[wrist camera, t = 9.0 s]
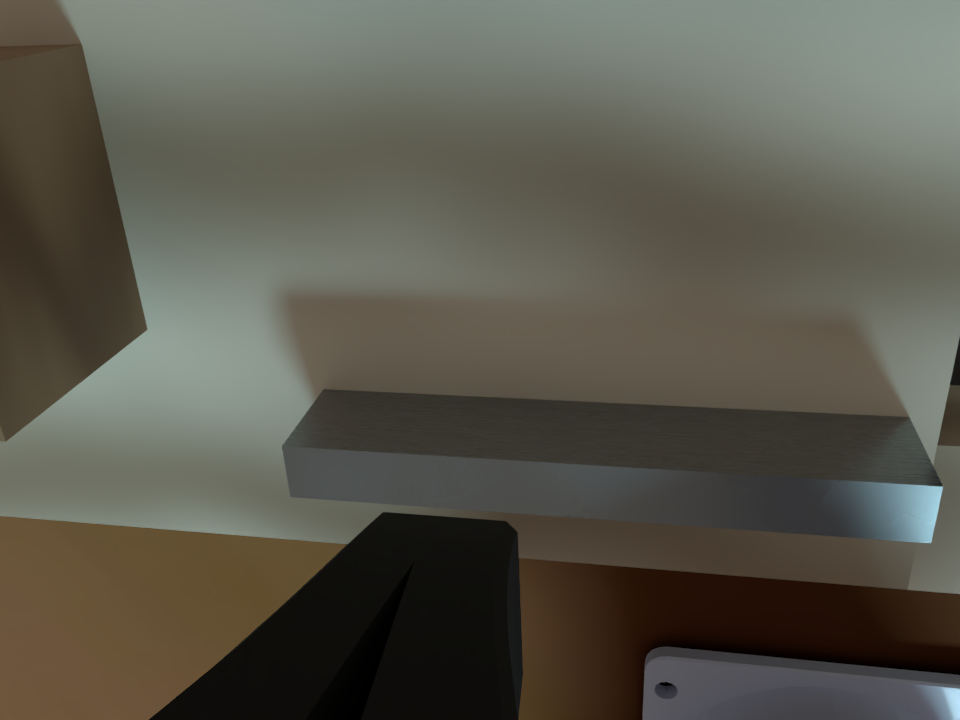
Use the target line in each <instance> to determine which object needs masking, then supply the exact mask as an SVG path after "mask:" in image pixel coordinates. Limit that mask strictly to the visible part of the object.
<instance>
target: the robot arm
mask: <svg viewBox="0 0 960 720" xmlns="http://www.w3.org/2000/svg"><path fill="white" fill-rule="evenodd" d="M522 677H523V665H522V637H521V609H520V581H519V552H518V532H517V531H516V530H515V529H514V528H513V527H512V526H511V525H510V524H509V523H508V522H507V521H500V520H486V519H472V518H459V517H445V516H432V515H418V514H405V513H391V512H383V513H381V514H380V515H379V516H378V517H377V518H376V519H375V520H374V521H372V522H371V523H370V524H369V525H368V526H367V527H366V528H365V529H364V530H362V531H361V532H360V533H359V534H358V535H357V536H356V537H355V538H354V539H353V540H352V541H351V542H349V543H348V544H347V545H346V546H345V547H344V548H343V549H342V550H341V551H340V552H339V553H338V554H337V555H336V556H335V557H334V558H333V559H331V560H330V561H329V562H328V563H327V564H326V565H325V566H324V567H323V568H322V569H321V570H320V571H319V572H318V573H317V574H316V575H315V576H313V577H312V578H311V579H310V580H309V581H308V582H307V583H306V584H305V585H304V586H303V587H302V588H301V589H300V590H298V591H297V592H296V593H295V594H294V595H293V596H292V597H291V598H290V599H289V600H288V601H287V602H286V603H285V604H283V605H282V606H281V607H280V608H279V609H278V610H277V611H276V612H274V613H273V614H272V615H271V616H270V617H269V618H268V619H267V620H266V621H264V622H263V623H262V624H261V625H260V626H259V627H258V628H257V629H255V630H254V631H253V632H252V633H251V634H250V635H249V636H248V637H247V638H245V639H244V640H243V641H242V642H241V643H240V644H239V645H238V646H237V647H235V648H234V649H233V650H232V651H231V652H230V653H229V654H228V655H226V656H225V657H224V658H223V659H222V660H221V661H219V662H218V663H217V664H216V665H215V666H214V667H212V668H211V669H210V670H209V671H208V672H206V673H205V674H204V675H203V676H202V677H200V678H199V679H198V680H197V681H196V682H194V683H193V684H192V685H191V686H189V687H188V688H187V689H186V690H185V691H183V692H182V693H181V694H180V695H178V696H177V697H176V698H175V699H174V700H172V701H171V702H170V703H169V704H167V705H166V706H165V707H164V708H163V709H161V710H160V711H159V712H158V713H156V714H155V715H154V716H153V717H152V718H150V719H149V720H518V717H519V706H520V696H521V687H522ZM661 682H668V683H672V684H673V685H672V686H663V685H660V684H659V683H661ZM642 720H960V675H954V674H943V673H933V672H923V671H913V670H902V669H892V668H882V667H871V666H861V665H851V664H841V663H830V662H820V661H810V660H800V659H789V658H779V657H769V656H758V655H748V654H738V653H728V652H717V651H707V650H697V649H686V648H676V647H658V648H656V649H653V650H651V651H650V652H649V653H648V654H647V656H646V659H645V670H644V693H643V715H642Z"/></svg>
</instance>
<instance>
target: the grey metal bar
mask: <svg viewBox="0 0 960 720" xmlns="http://www.w3.org/2000/svg"><path fill="white" fill-rule="evenodd" d="M282 451H283V456H284V462H285V468H286V474H287V480H288V486H289V492H290V497H294V498H308V499H322V500H335V501H349V502H363V503H377V504H391V505H405V506H419V507H433V508H446V509H460V510H474V511H488V512H502V513H516V514H530V515H543V516H557V517H571V518H585V519H599V520H613V521H627V522H641V523H654V524H668V525H682V526H696V527H710V528H724V529H738V530H751V531H765V532H779V533H793V534H807V535H821V536H835V537H849V538H862V539H876V540H890V541H904V542H918V543H931V541H932V537H933V532H934V527H935V523H936V518H937V513H938V509H939V504H940V499H941V495H942V490H943V485H942V483H941V481H940V479H939V477H938V475H937V473H936V471H935V469H934V466H933V464H932V462H931V460H930V458H929V456H928V454H927V452H926V450H925V448H924V446H923V444H922V442H921V440H920V438H919V436H918V434H917V432H916V429H915V427H914V425H913V423H912V421H911V419H910V417H897V416H876V415H855V414H834V413H813V412H792V411H771V410H750V409H729V408H708V407H687V406H666V405H645V404H624V403H603V402H582V401H561V400H540V399H519V398H498V397H477V396H456V395H435V394H414V393H393V392H372V391H351V390H330V389H323V391H322V392H321V393H320V395H319V396H318V397H317V399H316V400H315V401H314V403H313V404H312V406H311V407H310V408H309V410H308V411H307V412H306V414H305V415H304V417H303V418H302V419H301V421H300V422H299V423H298V425H297V426H296V427H295V429H294V430H293V432H292V433H291V434H290V436H289V437H288V438H287V440H286V441H285V443H284V444H283V445H282Z"/></svg>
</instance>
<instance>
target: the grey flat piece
mask: <svg viewBox="0 0 960 720" xmlns="http://www.w3.org/2000/svg"><path fill="white" fill-rule="evenodd" d="M70 44H82V47H83V51H84V55H85V60H86V64H87V69H88V73H89V77H90V82H91V86H92V90H93V95H94V99H95V103H96V108H97V112H98V116H99V121H100V125H101V129H102V134H103V138H104V142H105V147H106V151H107V155H108V160H109V164H110V168H111V173H112V177H113V181H114V186H115V190H116V195H117V199H118V203H119V208H120V212H121V216H122V221H123V225H124V229H125V234H126V238H127V242H128V247H129V251H130V255H131V260H132V264H133V268H134V273H135V277H136V281H137V286H138V290H139V294H140V299H141V303H142V307H143V312H144V316H145V320H146V325H147V329H148V330H146V331H145V332H144V333H143V334H141V335H140V336H139V337H138V338H136V339H135V340H134V341H133V342H131V343H130V344H129V345H127V346H126V347H125V348H124V349H122V350H121V351H120V352H119V353H117V354H116V355H115V356H114V357H112V358H111V359H110V360H109V361H107V362H106V363H105V364H103V365H102V366H101V367H100V368H98V369H97V370H96V371H95V372H93V373H92V374H91V375H90V376H88V377H87V378H86V379H85V380H83V381H82V382H81V383H79V384H78V385H77V386H76V387H74V388H73V389H72V390H71V391H69V392H68V393H67V394H66V395H64V396H63V397H62V398H60V399H59V400H58V401H57V402H55V403H54V404H53V405H52V406H50V407H49V408H48V409H47V410H45V411H44V412H43V413H42V414H40V415H39V416H38V417H36V418H35V419H34V420H33V421H31V422H30V423H29V424H28V425H26V426H25V427H24V428H23V429H21V430H20V431H19V432H18V433H16V434H15V435H14V436H12V437H11V438H10V439H9V440H7V441H6V442H1V441H0V516H9V517H22V518H34V519H46V520H58V521H71V522H83V523H95V524H107V525H120V526H132V527H144V528H156V529H169V530H181V531H193V532H206V533H218V534H230V535H242V536H255V537H267V538H279V539H291V540H304V541H316V542H328V543H340V544H348V543H349V542H351V541H352V540H353V539H354V538H355V537H356V536H357V535H358V534H359V533H360V532H361V531H362V530H364V529H365V528H366V527H367V526H368V525H369V524H370V523H371V522H372V521H374V520H375V519H376V518H377V517H378V516H379V515H380V514H381V513H383V512H391V513H405V514H418V515H432V516H445V517H459V518H472V519H486V520H500V521H507V522H508V523H509V524H510V525H511V526H512V527H513V528H514V529H515V530H516V531H517V532H518V552H519V558H524V559H537V560H549V561H561V562H574V563H586V564H598V565H610V566H623V567H635V568H647V569H659V570H672V571H684V572H696V573H708V574H721V575H733V576H745V577H757V578H770V579H782V580H794V581H807V582H819V583H831V584H843V585H856V586H868V587H880V588H892V589H905V590H917V591H929V592H941V593H954V594H960V0H0V47H5V46H38V45H70ZM323 389H330V390H351V391H372V392H393V393H414V394H435V395H456V396H477V397H498V398H519V399H540V400H561V401H582V402H603V403H624V404H645V405H666V406H687V407H708V408H729V409H750V410H771V411H792V412H813V413H834V414H855V415H876V416H897V417H910V419H911V421H912V423H913V425H914V427H915V429H916V432H917V434H918V436H919V438H920V440H921V442H922V444H923V446H924V448H925V450H926V452H927V454H928V456H929V458H930V460H931V462H932V464H933V466H934V469H935V471H936V473H937V475H938V477H939V479H940V481H941V483H942V485H943V490H942V495H941V499H940V504H939V509H938V513H937V518H936V523H935V527H934V532H933V537H932V541H931V543H918V542H904V541H890V540H876V539H862V538H849V537H835V536H821V535H807V534H793V533H779V532H765V531H751V530H738V529H724V528H710V527H696V526H682V525H668V524H654V523H641V522H627V521H613V520H599V519H585V518H571V517H557V516H543V515H530V514H516V513H502V512H488V511H474V510H460V509H446V508H433V507H419V506H405V505H391V504H377V503H363V502H349V501H335V500H322V499H308V498H294V497H290V492H289V486H288V480H287V474H286V468H285V462H284V456H283V451H282V445H283V444H284V443H285V441H286V440H287V438H288V437H289V436H290V434H291V433H292V432H293V430H294V429H295V427H296V426H297V425H298V423H299V422H300V421H301V419H302V418H303V417H304V415H305V414H306V412H307V411H308V410H309V408H310V407H311V406H312V404H313V403H314V401H315V400H316V399H317V397H318V396H319V395H320V393H321V392H322V391H323Z"/></svg>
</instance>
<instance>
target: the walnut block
mask: <svg viewBox="0 0 960 720" xmlns="http://www.w3.org/2000/svg"><path fill="white" fill-rule="evenodd" d="M146 330H148V329H147V325H146V320H145V316H144V312H143V307H142V303H141V299H140V294H139V290H138V286H137V281H136V277H135V273H134V268H133V264H132V260H131V255H130V251H129V247H128V242H127V238H126V234H125V229H124V225H123V221H122V216H121V212H120V208H119V203H118V199H117V195H116V190H115V186H114V181H113V177H112V173H111V168H110V164H109V160H108V155H107V151H106V147H105V142H104V138H103V134H102V129H101V125H100V121H99V116H98V112H97V108H96V103H95V99H94V95H93V90H92V86H91V82H90V77H89V73H88V69H87V64H86V60H85V55H84V51H83V47H82V44H70V45H38V46H5V47H0V441H1V442H6V441H7V440H9V439H10V438H11V437H12V436H14V435H15V434H16V433H18V432H19V431H20V430H21V429H23V428H24V427H25V426H26V425H28V424H29V423H30V422H31V421H33V420H34V419H35V418H36V417H38V416H39V415H40V414H42V413H43V412H44V411H45V410H47V409H48V408H49V407H50V406H52V405H53V404H54V403H55V402H57V401H58V400H59V399H60V398H62V397H63V396H64V395H66V394H67V393H68V392H69V391H71V390H72V389H73V388H74V387H76V386H77V385H78V384H79V383H81V382H82V381H83V380H85V379H86V378H87V377H88V376H90V375H91V374H92V373H93V372H95V371H96V370H97V369H98V368H100V367H101V366H102V365H103V364H105V363H106V362H107V361H109V360H110V359H111V358H112V357H114V356H115V355H116V354H117V353H119V352H120V351H121V350H122V349H124V348H125V347H126V346H127V345H129V344H130V343H131V342H133V341H134V340H135V339H136V338H138V337H139V336H140V335H141V334H143V333H144V332H145V331H146Z"/></svg>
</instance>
